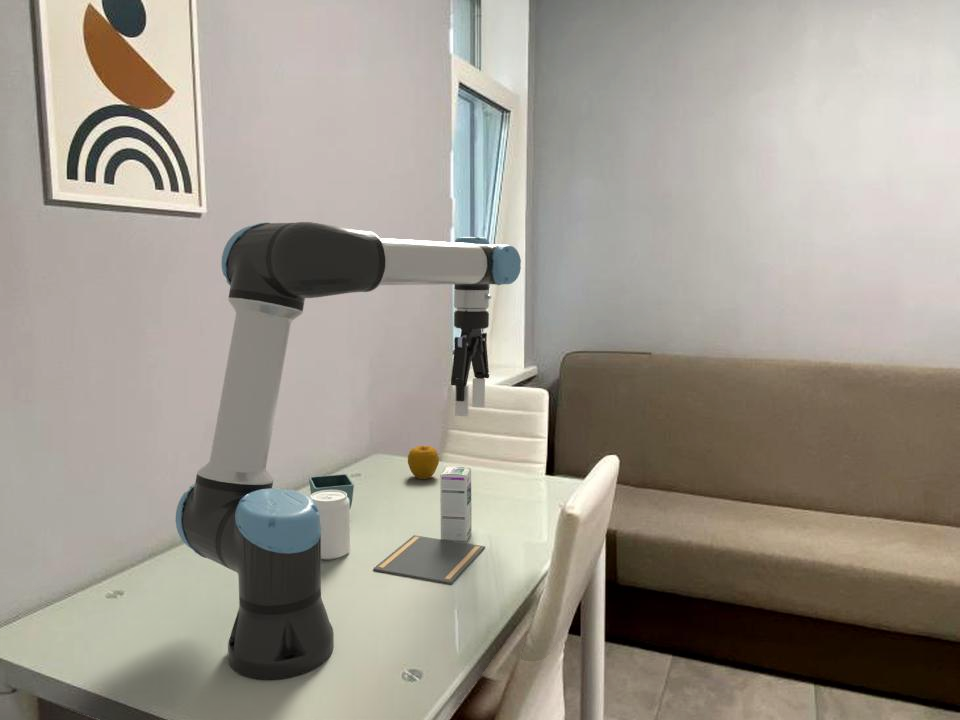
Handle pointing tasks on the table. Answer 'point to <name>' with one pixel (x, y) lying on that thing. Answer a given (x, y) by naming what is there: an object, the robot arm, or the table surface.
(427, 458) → the apple
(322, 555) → the beverage can
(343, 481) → the flower pot
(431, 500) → the table surface
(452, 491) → the syrup box
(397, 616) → the table surface
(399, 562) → the mat
